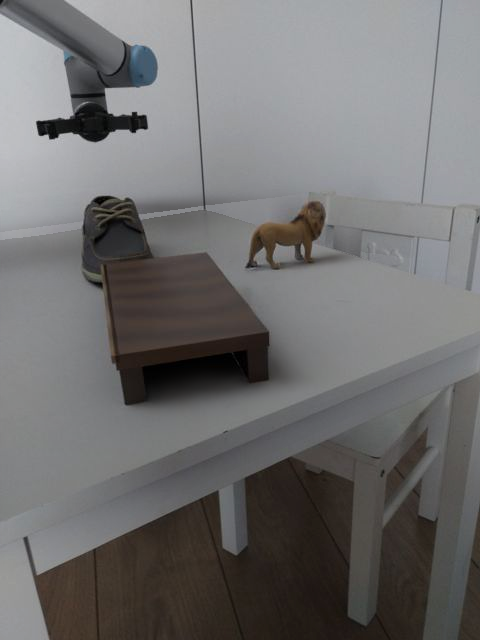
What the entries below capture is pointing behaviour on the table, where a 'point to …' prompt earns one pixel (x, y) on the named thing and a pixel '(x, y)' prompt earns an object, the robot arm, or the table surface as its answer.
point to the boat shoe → (111, 235)
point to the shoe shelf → (177, 318)
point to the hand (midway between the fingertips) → (94, 127)
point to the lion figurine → (289, 234)
